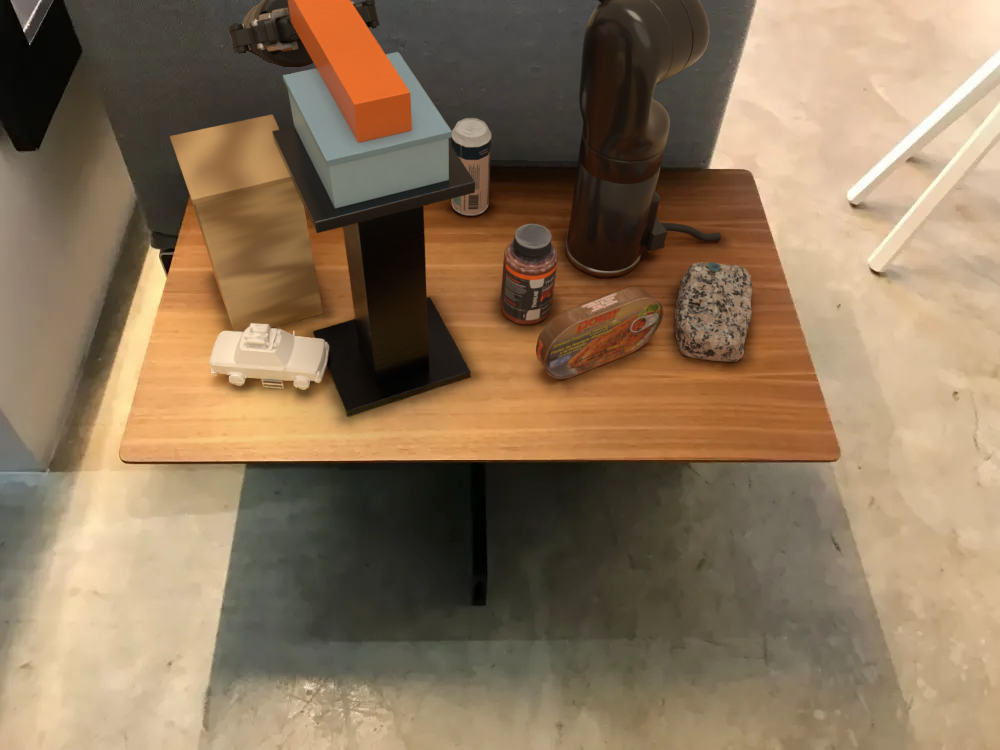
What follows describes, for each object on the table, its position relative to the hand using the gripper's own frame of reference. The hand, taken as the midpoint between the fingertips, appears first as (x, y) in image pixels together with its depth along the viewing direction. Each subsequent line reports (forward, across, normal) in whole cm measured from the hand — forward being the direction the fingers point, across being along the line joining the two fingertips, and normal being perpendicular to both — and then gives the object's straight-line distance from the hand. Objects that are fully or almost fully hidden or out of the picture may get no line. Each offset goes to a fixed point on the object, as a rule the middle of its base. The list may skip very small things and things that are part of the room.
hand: (316, 23), depth 78 cm
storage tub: (+10, 0, +11) cm, 15 cm away
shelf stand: (-3, 0, +34) cm, 35 cm away
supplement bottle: (-4, +17, +34) cm, 38 cm away
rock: (+5, +36, +40) cm, 54 cm away
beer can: (-20, +18, +25) cm, 37 cm away
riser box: (-15, -10, +28) cm, 33 cm away
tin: (+4, +21, +39) cm, 44 cm away
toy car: (-6, -12, +33) cm, 36 cm away
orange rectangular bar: (+8, 0, +4) cm, 9 cm away
